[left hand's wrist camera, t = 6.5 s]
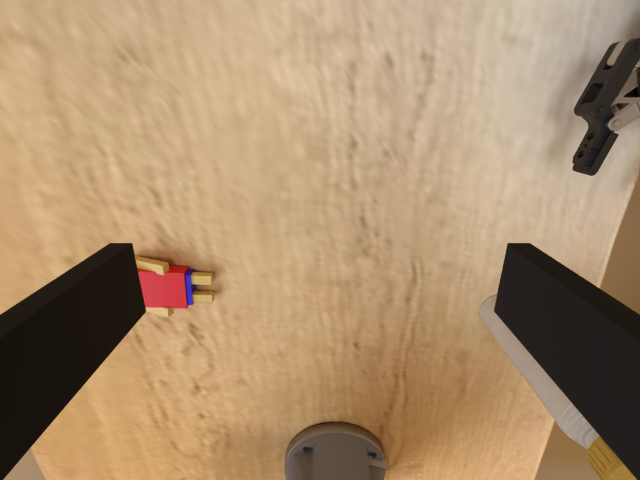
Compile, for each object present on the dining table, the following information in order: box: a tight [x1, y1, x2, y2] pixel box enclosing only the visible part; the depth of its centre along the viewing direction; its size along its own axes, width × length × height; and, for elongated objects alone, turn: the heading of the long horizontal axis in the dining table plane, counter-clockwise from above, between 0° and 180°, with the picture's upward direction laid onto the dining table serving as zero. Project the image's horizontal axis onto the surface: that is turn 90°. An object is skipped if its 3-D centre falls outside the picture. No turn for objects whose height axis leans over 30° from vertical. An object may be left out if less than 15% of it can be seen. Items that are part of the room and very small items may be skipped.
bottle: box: [480, 295, 600, 449], centre depth 34 cm, size 5×5×21 cm
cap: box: [587, 437, 637, 480], centre depth 25 cm, size 4×4×2 cm
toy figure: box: [135, 256, 214, 317], centre depth 42 cm, size 2×7×12 cm
